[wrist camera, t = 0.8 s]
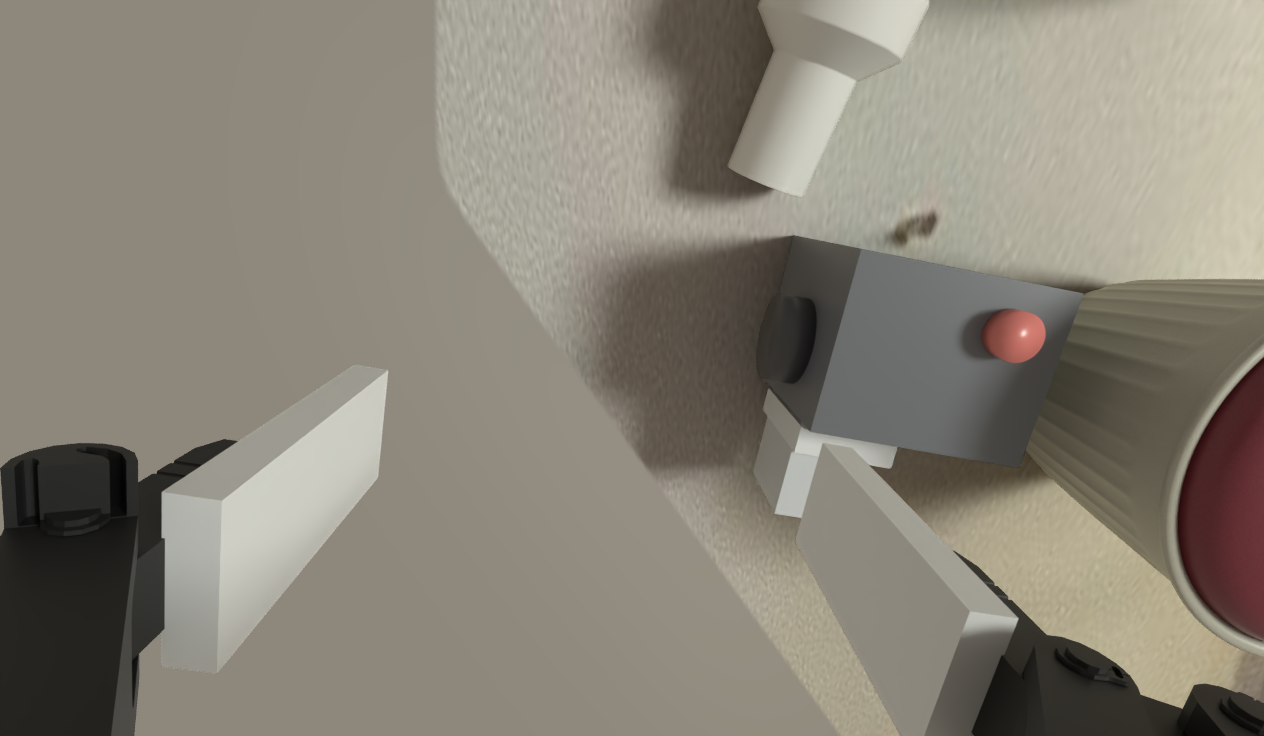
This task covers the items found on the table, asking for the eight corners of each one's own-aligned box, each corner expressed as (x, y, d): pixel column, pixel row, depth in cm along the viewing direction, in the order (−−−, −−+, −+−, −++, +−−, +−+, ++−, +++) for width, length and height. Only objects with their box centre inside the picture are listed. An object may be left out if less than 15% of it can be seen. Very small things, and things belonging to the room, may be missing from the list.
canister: (945, 280, 41) (1281, 361, 20) (1226, 210, 40) (1858, 222, 20) (973, 526, 45) (1270, 792, 25) (1226, 466, 45) (1737, 688, 25)
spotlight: (918, 6, 35) (954, -20, 28) (824, 201, 40) (834, 222, 33) (783, -45, 36) (784, -84, 29) (706, 154, 41) (690, 164, 33)
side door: (768, 387, 41) (801, 426, 34) (849, 402, 41) (898, 443, 34) (748, 464, 42) (776, 517, 35) (827, 478, 43) (870, 532, 36)
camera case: (768, 230, 40) (835, 243, 28) (959, 268, 41) (1099, 296, 29) (733, 374, 42) (782, 441, 30) (914, 406, 43) (1028, 484, 31)
